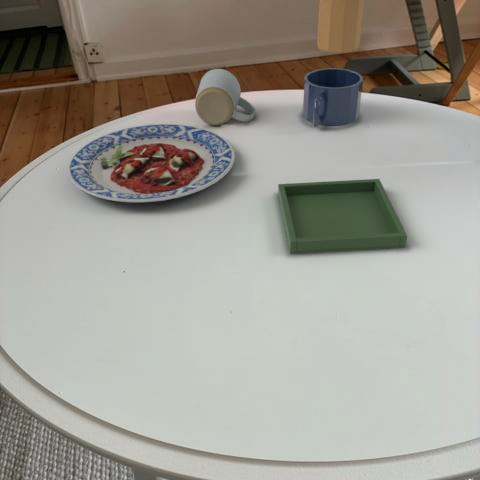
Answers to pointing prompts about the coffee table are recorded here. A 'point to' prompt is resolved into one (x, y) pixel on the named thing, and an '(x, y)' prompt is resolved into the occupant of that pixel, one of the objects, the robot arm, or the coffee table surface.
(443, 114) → the coffee table surface
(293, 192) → the green tray
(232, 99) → the ceramic mug
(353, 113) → the blue mug
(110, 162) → the ceramic plate
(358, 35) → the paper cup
